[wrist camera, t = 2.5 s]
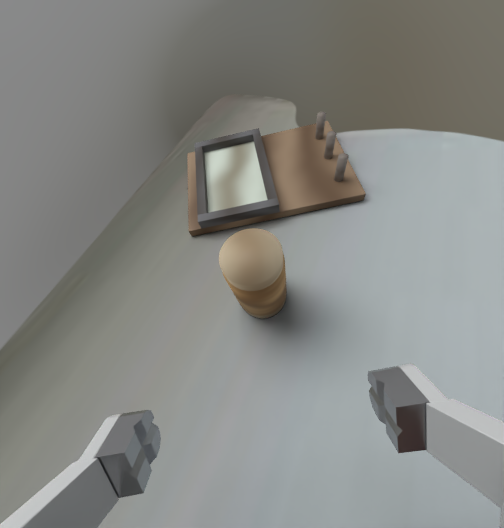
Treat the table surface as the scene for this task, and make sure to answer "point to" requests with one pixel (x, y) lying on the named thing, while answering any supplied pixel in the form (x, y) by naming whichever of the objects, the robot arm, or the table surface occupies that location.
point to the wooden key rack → (267, 177)
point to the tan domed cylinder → (255, 271)
